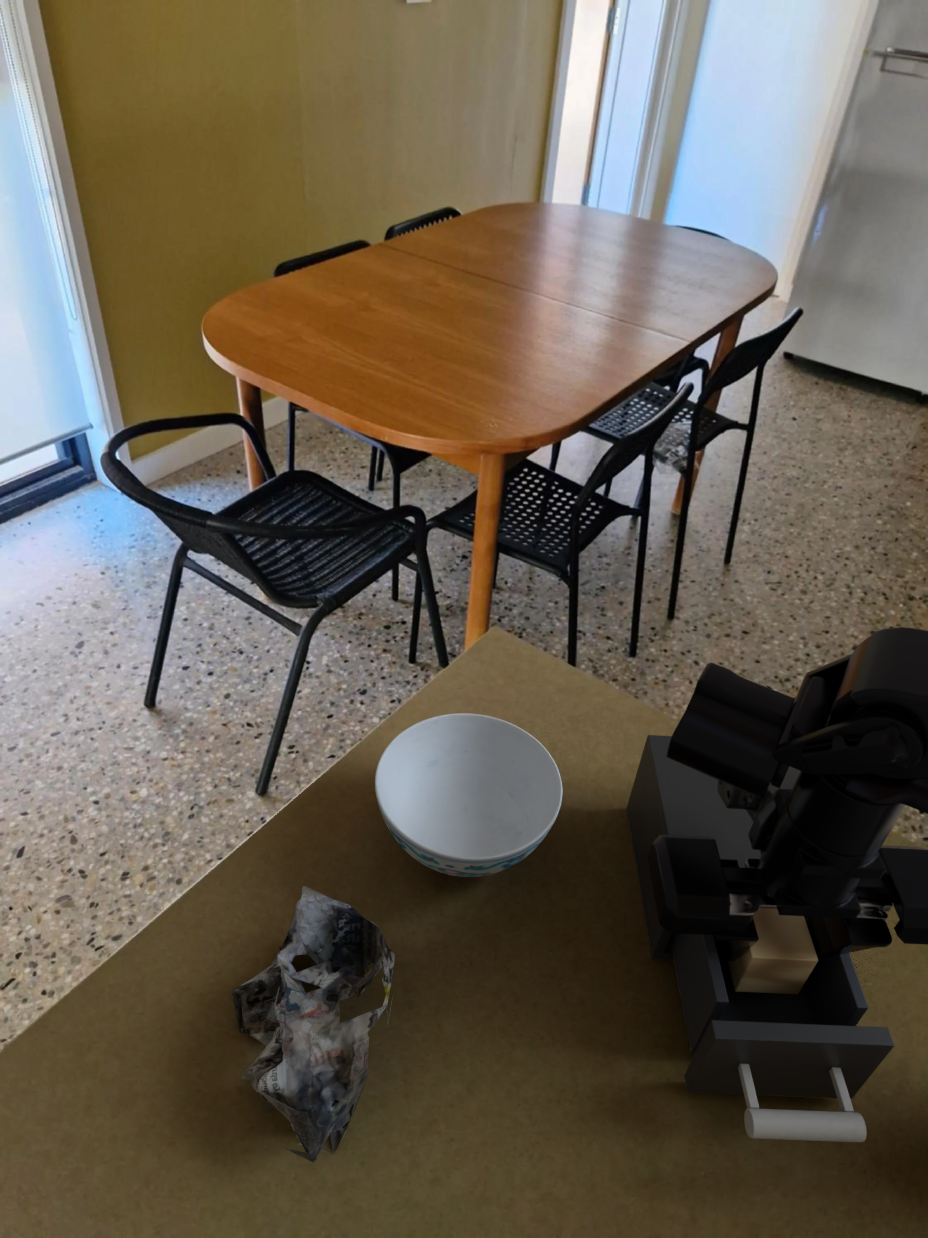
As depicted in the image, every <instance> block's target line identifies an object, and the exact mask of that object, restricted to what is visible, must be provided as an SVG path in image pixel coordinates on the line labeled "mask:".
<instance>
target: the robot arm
mask: <svg viewBox="0 0 928 1238" xmlns="http://www.w3.org/2000/svg"><path fill="white" fill-rule="evenodd" d="M671 736H672V737H671V740H670V743H669V746H668V750H667V758H670V759H672V760H674V761H676V762H679V763H681V764H683V765H685V766H688V767H690V768H692V769H694V770H697V771H699V772H701V773H704V774H706V775H708V776H710V777H713V778H715V779H717V780H718V784H717V787H718V793H719V795H720V797H721V799H722V800H723V802H724V804H725V806H726V807H727V808H728V809H745V810H747V812H748V814H749V815H750V817H751V819H752V820H753V824H752V827H751V829H750V831H749V834H748V836H749V839H750V843H751V846H752V849H753V850H760V853H761V857H760V859H747V860H746V861H745V868H739V864H738V860H734V859H720V856H719V852H718V848H717V844H716V840H715V839H713V838H711V837H706V836H685V835H665V834H660V835H659V836H658V837H657V838H656V839H655V840H654V841H653V843H652V845H651V848H650V851H649V854H648V857H647V858H648V863H649V869H650V874H651V880H652V885H653V891H654V896H655V902H656V907H657V913H658V919H659V924H660V925H661V926H662V927H663V928H664V929H665V930H667V931H668V932H669V933H679V934H702V935H712V936H713V937H714V938H716V939H718V940H724V943H725V950H726V954H727V958H728V961H735V960H736V959H738V958H740V957H741V956H742V955H743V954H744V953H745V952H746V951H747V950H748V949H750V948H751V947H752V946H753V945H754V944H755V943H756V942H757V941H758V940H759V937H758V934H757V930H756V926H755V923H754V919H753V916H754V915H755V914H756V913H757V911H758V909H759V908H770V909H778V913H779V915H788V916H807V918H806V920H805V921H806V924H807V927H808V930H809V933H810V936H811V939H812V942H813V945H814V949H815V952H816V955H817V958H818V960H820V959H824V958H828V957H832V956H836V955H841V954H845V953H849V954H850V953H855V952H860V951H865V950H870V949H874V948H875V949H876V948H887V947H889V946H890V945H891V944H892V942H893V935H892V934H891V931H890V929H889V926H888V923H887V919H888V918H889V915H888V913H887V912H890V911H891V909H892V908H893V907H894V910H895V913H896V916H897V918H898V919H899V920H898V921H897V923H896V924H895V926H894V927H893V930H894V932H895V934H896V936H897V938H899V940H900V941H901V942H902V943H903V944H905V945H924V946H925V945H928V849H927V848H923V847H920V846H910V845H909V846H907V845H906V846H905V845H888V844H887V845H886V844H884V843H885V841H886V839H887V837H888V836H889V835H890V833H891V831H892V830H893V828H894V826H895V825H896V823H897V821H898V819H899V818H900V816H901V815H902V813H903V811H904V809H905V808H906V806H908V807H910V808H913V809H914V810H917V811H919V812H922V813H924V814H927V815H928V630H925V629H919V628H913V627H905V626H900V627H890V628H889V627H887V628H882V629H879V630H876V631H872V633H871V634H870V636H867V638H865V639H864V640H863V641H861V642H860V643H859V644H857V646H856V647H855V649H854V650H853V652H852V653H851V654H848V655H846V656H843V657H841V658H838V659H836V660H834V661H831V662H829V663H826V664H824V665H821V666H819V667H816V668H814V669H812V670H810V671H807V672H806V673H805V675H804V678H803V679H802V682H801V683H800V686H799V689H798V690H797V693H796V695H795V697H792V696H791V695H788V694H784V693H782V692H780V691H777V690H775V689H772V688H770V687H768V686H765V685H762V684H760V683H757V682H755V681H753V680H750V679H747V678H745V677H743V676H740V675H739V674H737V673H735V672H734V671H732V670H730V669H728V668H727V667H724V666H721V665H719V664H717V663H715V662H708V663H706V665H705V667H704V669H703V671H702V672H701V673H700V675H699V678H698V679H697V681H696V684H695V688H694V691H693V693H692V696H691V697H690V700H689V702H688V704H687V706H686V709H685V711H684V712H683V715H682V716H681V718H680V720H679V722H678V723H677V725H676V727H675V729H674V731H673V733H672V735H671Z"/></svg>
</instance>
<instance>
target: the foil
mask: <svg viewBox="0 0 928 1238" xmlns="http://www.w3.org/2000/svg"><path fill="white" fill-rule="evenodd" d="M278 949H279V950H278V952H277V955H276V956H275V957H274V959H273V960H272V962H270V965H269V966H267V967H266V968H265V969H264V970H262V971H261V972H260V973H258V974H257V975H255V976H254V977H252V978H250V979H248V980H246V981H244V982H243V983H241V984H239V985H237V987H235V988H233V989H232V992H231V997H232V1002H233V1006H234V1007H233V1008H234V1011H235V1016H236V1021H237V1025H238V1030H239V1034H243V1035H249V1036H250V1037H252V1038H253V1039H255V1040H256V1041H258V1042H260V1043H261V1044H263V1045H264V1046H265V1048H264V1049H263V1050H262V1051H261V1052H260V1054H259V1055H257V1057H256V1058H255V1059H254V1061H253V1062H252V1063H251V1064H250V1066H249V1067H248V1068H247V1069H246V1070H245V1072H244V1073H243V1074H242V1075H241V1076H240V1079H241V1080H242V1081H244V1082H245V1084H247V1085H249V1086H250V1087H251V1088H252V1089H254V1091H255V1092H256V1093H259V1095H260V1100H261V1105H262V1110H272V1109H273V1110H274V1109H275V1110H277V1111H278V1112H279V1113H281V1115H283V1117H285V1118H286V1119H287V1120H288V1121H289V1122H290V1127H291V1129H292V1131H295V1134H296V1139H298V1140H299V1142H297V1144H298V1145H300V1146H302V1148H303V1149H304V1151H303V1150H298V1149H297V1150H296V1149H292V1148H291V1149H290V1148H285V1147H284V1148H283V1149H284V1150H287V1151H289V1152H290V1153H293V1154H295V1155H297V1156H298V1157H301V1158H303V1159H305V1160H306V1161H309V1162H311V1163H315V1162H316V1161H317V1158H318V1156H319V1154H320V1152H324V1153H328V1154H335V1153H336V1152H337V1150H338V1148H339V1146H340V1144H341V1142H342V1140H343V1139H344V1137H345V1135H346V1133H347V1130H348V1127H349V1125H350V1122H351V1121H352V1117H353V1114H354V1112H355V1110H356V1107H357V1105H358V1102H359V1099H360V1097H361V1093H362V1092H363V1088H364V1086H365V1085H364V1084H365V1083H366V1082H367V1081H366V1080H367V1079H368V1076H369V1044H370V1043H369V1042H370V1037H369V1031H370V1030H371V1029H372V1028H373V1026H374V1025H376V1024H377V1022H379V1020H380V1018H381V1015H382V1014H383V1012H384V1011H385V1010H386V1015H387V1023H386V1026H388V1025H389V1022H390V1015H391V1012H392V1011H391V1010H392V1007H390V1009H388V1005H389V999H390V998H389V997H390V993H391V992H390V991H391V987H392V982H393V981H392V980H393V974H394V968H395V961H396V954H395V952H394V951H393V950H392V948H390V947H389V945H388V943H387V940H386V938H385V936H384V933H383V931H382V929H381V928H380V927H379V926H378V925H377V924H376V923H375V922H373V921H372V920H371V919H369V918H366V917H364V916H363V915H362V914H361V913H360V912H358V911H357V910H356V909H355V908H354V907H353V906H352V905H351V904H348V903H345V902H343V901H339V900H337V899H335V898H333V897H330V896H328V895H326V894H322V893H321V892H319V891H317V890H314V889H313V888H310V887H308V886H306V885H304V886H302V888H301V897H300V899H299V900H298V901H296V904H295V913H294V917H293V920H292V923H291V926H290V928H289V931H287V935H286V937H285V938H284V940H283V942H282V945H280V946H279V947H278ZM302 955H308V956H309V957H310V958H311V959H312V960H313V961H314V963H315V965H313V966H311V967H307V968H305V969H302V970H299V971H296V969H295V967H294V965H293V964H292V963H293V960H294V958H295V957H296V956H302ZM368 965H372V967H371V969H370V971H369V972H368V973H367V974H366V972H367V969H368ZM382 969H383V971H382V984H383V988H384V992H385V997H384V1001H383V1004H382V1006H380V1007H378V1008H376V1009H373V1010H370V1011H367V1012H365V1013H363V1014H360V1015H358V1016H355V1017H353V1018H349V1019H347V1020H345V1021H342V1022H340V1001H342V1000H346V999H349V998H350V997H352V996H353V995H354V994H355V993H356V992H357V997H358V998H360V996H361V995H362V993H363V992H364V991H365V990H366V989H367V987H368V986H370V985H371V984H372V982H373V981H374V979H375V978H376V976H377V975H378V973H379V972H380V971H381V970H382ZM302 982H304V983H307V984H310V985H314V986H316V987H319V988H317V989H315V990H311V991H309V992H306V990H305V988H304V985H303V983H302ZM394 993H395V992H393V995H394ZM393 999H394V997H392V999H391V1001H393ZM392 1005H393V1002H391V1004H390V1006H392ZM328 1138H330V1143H331V1147H332V1151H333V1153H332V1152H328V1151H326V1150H322V1149H323V1147H324V1145H325V1144H326V1143H327V1140H328Z"/></svg>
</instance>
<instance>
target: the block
mask: <svg viewBox="0 0 928 1238" xmlns="http://www.w3.org/2000/svg"><path fill="white" fill-rule="evenodd" d="M753 919H754V923H755V926H756V930H757V934H758V937H759V940H758V941H757V942H756V943H755V944H754V945H753V946H752V947H751V948H750V949H748V950H747V951H746V952H745V953H744V954H743V955H742V956H741V957H740V958H738V959H736V960H735V961H728V964H729V969H730V973H731V977H732V981H733V985H734V990H735V991H736V992H759V993H782V994H798V993H799V992H800V990H801V988H802V987H803V985H804V983H805V982H806V980H807V978H808V977H809V975H810V973H811V972H812V970H813V968H814V967H815V965H816V963H817V962H818V958H817V955H816V952H815V949H814V945H813V942H812V939H811V936H810V933H809V930H808V927H807V924H806V921H805V918H804V916H788V915H779V913H778V909H770V908H759V909H758V911H757V913H756V914H755V915H754V916H753ZM723 943H724V940H723ZM724 947H725V943H724ZM725 952H726V950H725ZM726 956H727V954H726ZM727 960H728V958H727Z"/></svg>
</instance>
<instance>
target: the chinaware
mask: <svg viewBox="0 0 928 1238" xmlns="http://www.w3.org/2000/svg"><path fill="white" fill-rule="evenodd" d="M374 790H375V797H376V801H377V804H378V808H379V811H380V814H381V816H382V818H383V821H384V823H385V825H386V827H387V828H388V831H389V832H390V834H391V835H392V837H393V838H394V840H395V841H396V842H397V843H398V845H399V846H400V847H401V848H402V850H404V851H405V852H406V853H407V854H408V855H409V856H410V857H412V858H413V859H414V860H416V861H417V862H418V863H420V864H422V865H423V866H425V867H427V868H429V869H431V870H434V871H435V872H438V873H441V874H444V875H449V876H453V877H461V878H477V877H479V878H480V877H485V876H490V875H494V874H497V873H500V872H503V871H505V870H507V869H509V868H512V867H513V866H515V865H517V864H518V863H520V862H522V861H523V860H524V859H525V858H527V857H528V856H529V855H530V854H531V853H532V852H534V850H536V849H537V848H538V847H539V845H540V844H541V843H542V842H543V840H544V839H545V838H546V837H547V835H548V834H549V832H550V830H551V829H552V827H553V826H554V824H555V822H556V820H557V817H558V815H559V812H560V810H561V806H562V803H563V782H562V776H561V772H560V770H559V767H558V766H557V763H556V761H555V759H554V758H553V757H552V755H551V754H550V752H549V751H548V750H547V748H546V747H545V746H544V745H543V744H542V742H540V740H538V739H537V738H536V737H534V736H533V735H531V734H530V733H529V732H528V731H527V730H524V729H523V728H521V727H519V726H518V725H515V724H514V723H511V722H508V721H506V720H503V719H502V718H501V719H500V718H498V717H494V716H490V715H485V714H479V713H467V712H466V713H465V712H463V713H462V712H461V713H446V714H441V715H436V716H433V717H429V718H426V719H423V720H420V721H419V722H417V723H414V724H412V725H410V726H409V727H406V729H404V730H403V731H401V732H399V734H397V736H395V737H394V738H393V739H392V740H391V741H390V743H388V745H387V746H386V747H385V749H384V750H383V752H382V754H381V755H380V758H379V760H378V762H377V766H376V769H375V775H374Z"/></svg>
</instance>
